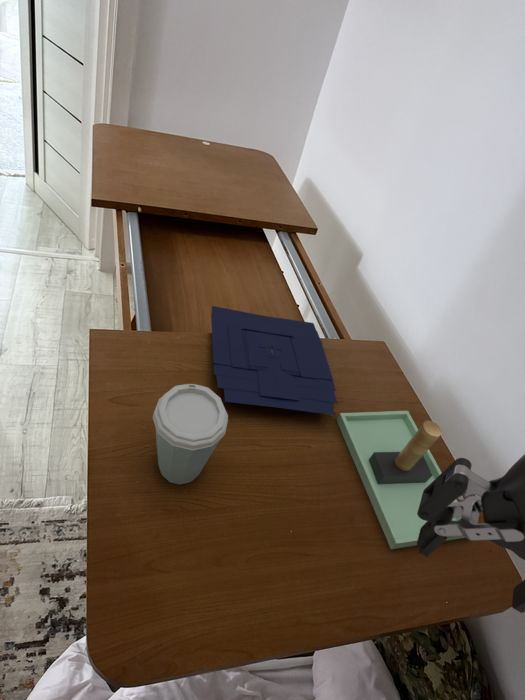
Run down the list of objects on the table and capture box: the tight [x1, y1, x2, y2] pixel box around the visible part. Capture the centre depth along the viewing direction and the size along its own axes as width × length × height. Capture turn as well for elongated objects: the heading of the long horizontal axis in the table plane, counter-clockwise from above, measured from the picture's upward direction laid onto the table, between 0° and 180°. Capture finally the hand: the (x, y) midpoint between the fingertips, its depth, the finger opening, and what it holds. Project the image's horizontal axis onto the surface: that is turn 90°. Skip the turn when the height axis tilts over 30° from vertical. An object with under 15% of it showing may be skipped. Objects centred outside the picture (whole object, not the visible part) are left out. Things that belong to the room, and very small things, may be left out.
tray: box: [335, 410, 467, 550], centre depth 91 cm, size 26×16×2 cm, turn 15°
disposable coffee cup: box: [152, 383, 229, 486], centre depth 75 cm, size 11×11×15 cm
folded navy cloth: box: [210, 305, 338, 416], centre depth 102 cm, size 24×30×4 cm
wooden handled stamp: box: [369, 420, 442, 484], centre depth 87 cm, size 5×10×13 cm, turn 102°
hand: (469, 573), depth 44 cm, fingers open, 8 cm apart
